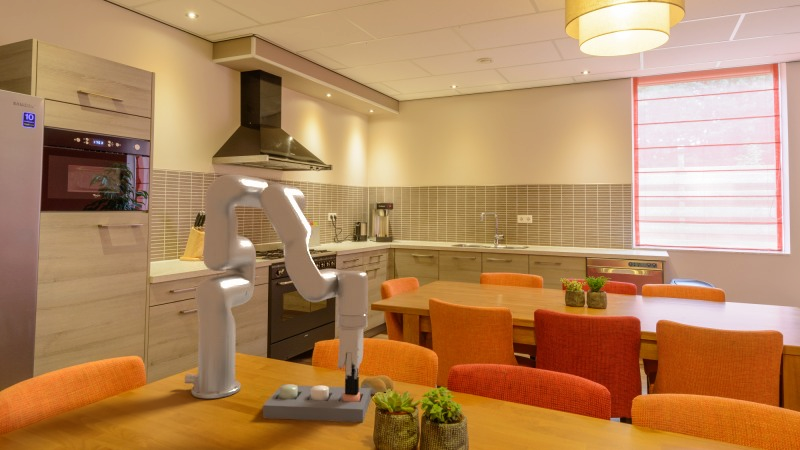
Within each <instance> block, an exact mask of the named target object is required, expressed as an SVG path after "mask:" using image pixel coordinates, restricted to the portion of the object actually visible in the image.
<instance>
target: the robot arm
mask: <svg viewBox="0 0 800 450" xmlns="http://www.w3.org/2000/svg"><path fill="white" fill-rule="evenodd" d="M306 203H307V202H306V197H305V195H304V193H303V192H302V191H301V190H300V189H299V188H297V187H296V186H293V185H292V186H291V185H287V184H283V183H279V182H276V181H271V180H267V179H264V178H260V177H254V176H249V175H243V174H237V173H230V174H224V175H220V176H218V177H216V178H215V179H214V180H212V181H211V183H210V184H209V186H208V187H207V189H206V192H205V196H204V211H205V219H204V220H205V223H204V235H203V238H204V239H203V251H202V252H203V257H202V258H203V263H204V265H205V266H206V268H207V269H208V270H211V271H214V272H222V271H225V274H220V275H219V274H218V275H213V276H209V277H207V278H204V279H203V280H202V281H200V282H199V284H198V285H197V286H196V289H195V292H194V301H195V306H196V311H197V319H198V320H197V321H198V324H197V326H198V336H197V337H198V339H197V341H198V343H197V346H198V347H197V348H198V349H197V351H198V352H197V355H198V356H197V373H196V374H194V373H186V374H185V375H184V384H192V385H193V386H192V388H191V393H190V394H191V395H192V396H194V397H195V398H199V399H218V398H224V397H228V396H232V395H234V394H236V393H237V392H239V391H240V390H241V389H242V388H241V387H242V385H241V382H239V381H238V380H236V321H235V317H234V315H233V311H232V308H235V307H239V306H242V305H244V304H246V303H247V302H249V301H250V300H251V298H252V297H253V294H254V291H255V290H254V289H255V279H256V278H255V277H256V263H257V253H256V248H255V246H254V243H252V241H251V240H250V239H249V238H248V237H245V236H242V235H239V234H238V233H239V231H238V230H239V220H238V215H237V213H236V210H235V208H237V207H245V208H256V209H261V210H262V211H263V212H264V214H265V216H266V217H267V219H268V221H269V223H270V224H271V226H272V228H273V230H274V231H275V233H276V235H277V237H278V239H279V241H280V242H281V243H282V246H283V259H284V266H285V270H286V272H287V275H288V277H289V278H290V280H291V282H292V283H293V285H294V286H295V289H296V290H297V292H298V293H299V294H300V296H301V297H302V298H303V299H305V301H308V302H311V303H317V302H322V301H325V300H327V299H331V298H335V297H337V323H336V325H337V328H338V329H339V330H340V332H339V337H338V338H339V340H338V356H337V357H338V360H337V369H338V370H341V369H343V368H344V369H345V371H344V372H345V378H344V387H345V394H346V395H357V394H358V392H359V388H360V386H359V385H360V384H359V383H360V377H359V372H360V371H359V370H360V365H361V363H362V361H363V357H364V356H363V355H364V329H365V328H368V324H369V323H368V322H369V321H368V319H369V317H368V316H369V315H368V313H369V311H368V310H369V306H368V305H369V276H368V274H367V272H365V271H362V270H341V269H336V268H324V269H323V268H322V269H319V268H318V266H317V265H316V264H315V262H314V259H313V258H312V255H311V253H310V250H309V249H310V248H309V241H310V239H311V236H312V235H313V231H314V230H313V228H312V226H311V224H310V222H309V220H308V219H307V218H306V216H305V215H304V210H305V208H306V206H307V205H306Z"/></svg>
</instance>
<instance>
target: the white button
mask: <svg viewBox="0 0 800 450" xmlns="http://www.w3.org/2000/svg"><path fill="white" fill-rule="evenodd" d="M329 387H330V386H327V385H321V384H320V385H314V387H312V388H311V400H319V401H328V400H329Z"/></svg>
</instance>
